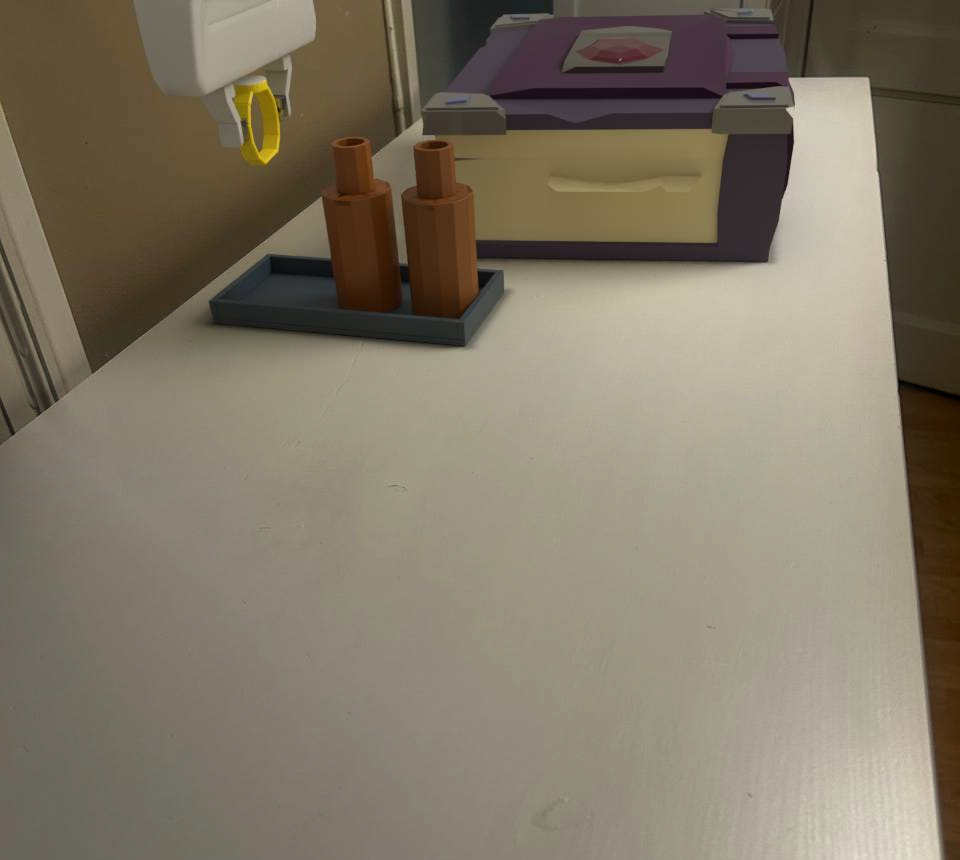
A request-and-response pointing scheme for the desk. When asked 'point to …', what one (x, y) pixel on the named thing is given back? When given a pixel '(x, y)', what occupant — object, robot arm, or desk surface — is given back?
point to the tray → (314, 308)
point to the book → (623, 136)
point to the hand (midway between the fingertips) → (258, 132)
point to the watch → (269, 113)
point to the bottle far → (439, 234)
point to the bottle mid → (361, 231)
